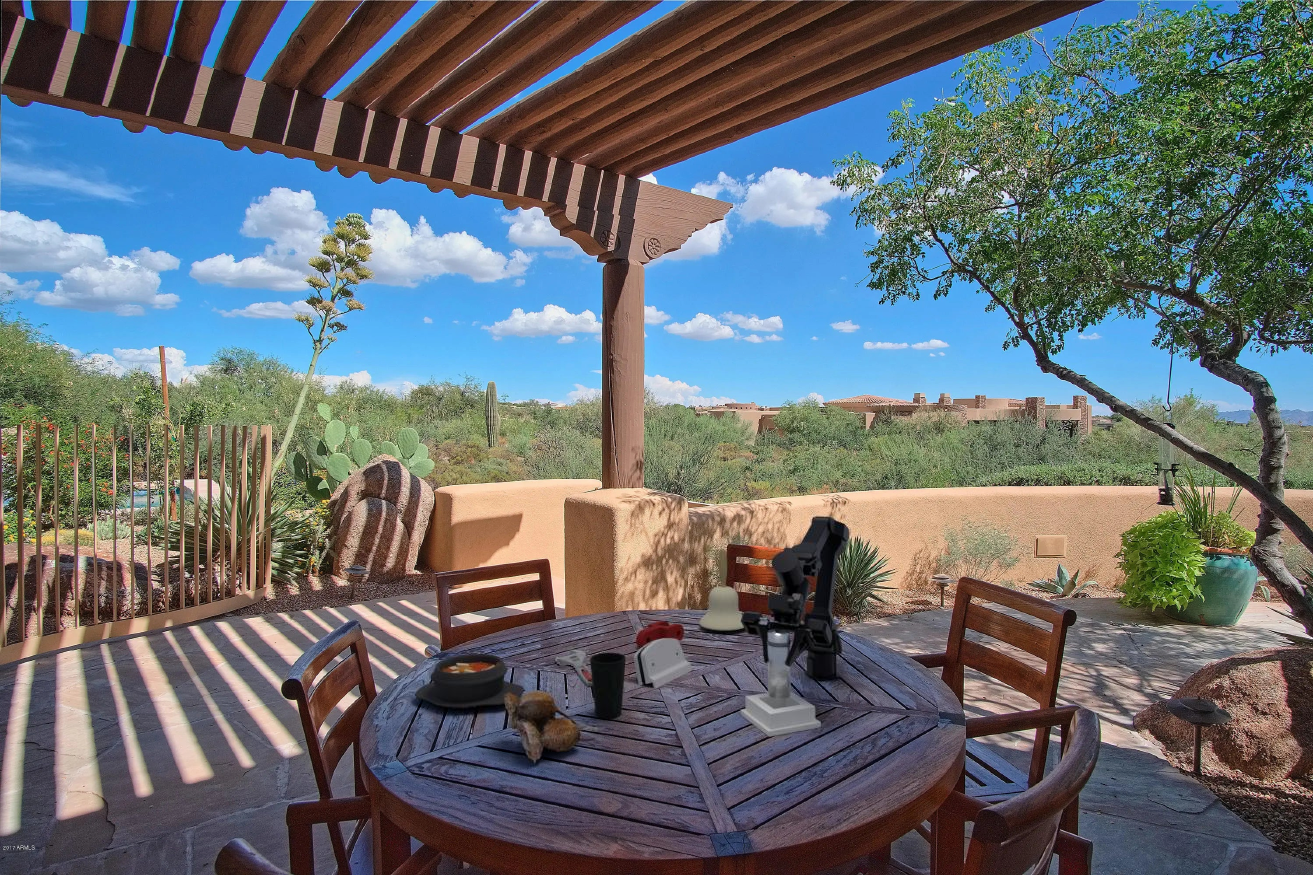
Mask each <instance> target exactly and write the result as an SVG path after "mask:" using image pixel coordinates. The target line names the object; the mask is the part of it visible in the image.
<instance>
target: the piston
mask: <svg viewBox="0 0 1313 875" xmlns="http://www.w3.org/2000/svg"><path fill="white" fill-rule="evenodd" d="M790 636H791V632H789V631H787V630H783V629H772V630H768V631H767V644H768V662H767V693H768V695H769V696H770V697H772V698H777V699H785V698H789V697H790V696H791V692H792V690H791V689H792V688H791V666H790V667H788V665H787V661H788V656H789V653H790V650H791V646H792V643H791V642H792V640H791V638H790Z"/></svg>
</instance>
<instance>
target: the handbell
mask: <svg viewBox="0 0 1313 875" xmlns="http://www.w3.org/2000/svg"><path fill="white" fill-rule="evenodd" d="M727 559H728V558H727V551H726V549H725V548H721V549H720V551H719V558H718V573H719V581H720V586H716V587H713V588H712V589H711V590H710V592H709V594H708V610H707V612H706V614H704V615H703V616H702V618H701V619H700V621H699V622H698V623H699V625H700V626H701V627H703V628H704V629H708V630H712V631H713V630H714V631H736V630H737V631H738V630H740V629H741V630H742V629H745V628H744V627H743V625H742V623H741V618H742V615H743V614H742V613H741V611H740V610H739V594H738V592H737V591H736V590H735V588H732V587H731V586H727V585H726V584H727V577H728V576H727V575H728V560H727Z"/></svg>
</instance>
